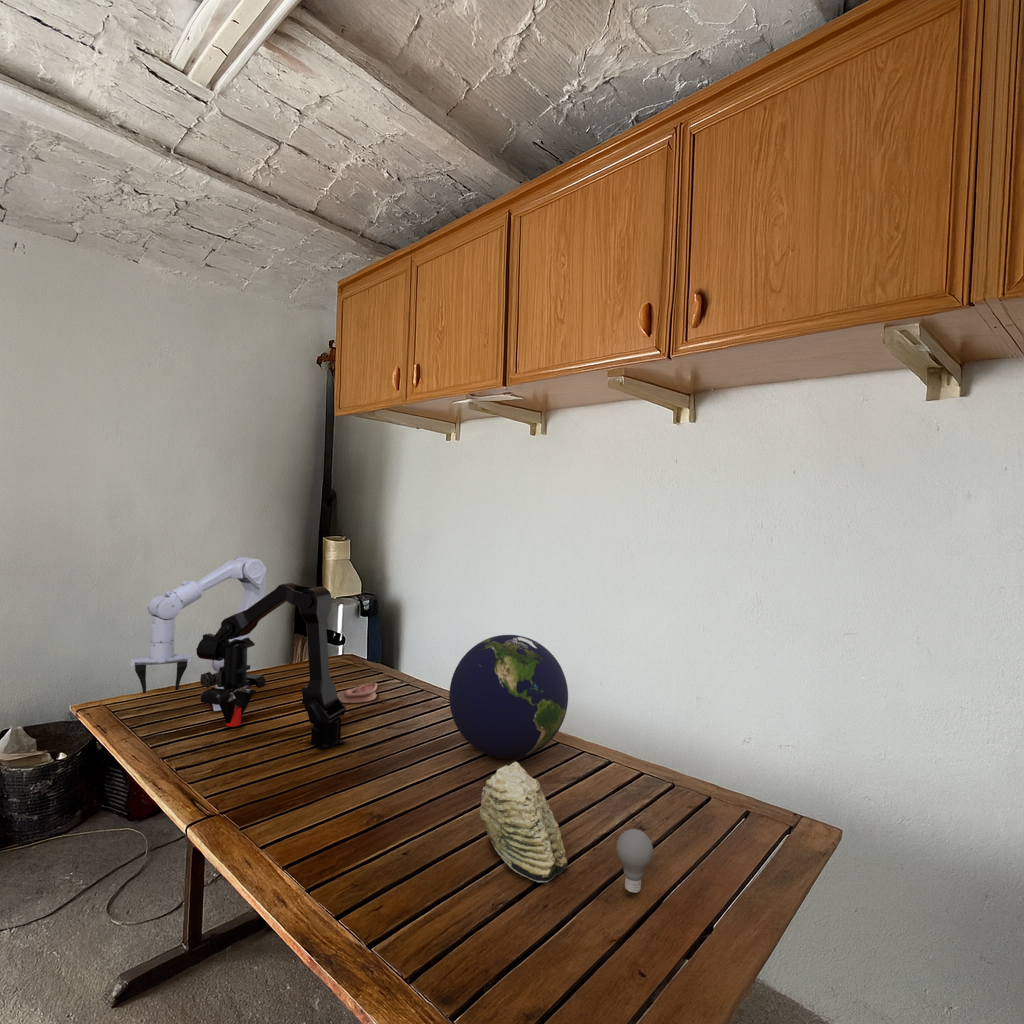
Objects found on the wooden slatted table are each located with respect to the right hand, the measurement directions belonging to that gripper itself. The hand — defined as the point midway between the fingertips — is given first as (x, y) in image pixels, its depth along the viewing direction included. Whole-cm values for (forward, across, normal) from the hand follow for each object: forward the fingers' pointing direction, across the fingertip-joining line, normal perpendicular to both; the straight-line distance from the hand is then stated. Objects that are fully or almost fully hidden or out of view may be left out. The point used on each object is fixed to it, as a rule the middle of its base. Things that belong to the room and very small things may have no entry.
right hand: (233, 720), depth 170 cm
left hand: (-7, +4, -21) cm, 22 cm away
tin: (+1, 0, 0) cm, 1 cm away
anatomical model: (+2, -35, +16) cm, 39 cm away
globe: (+2, -10, +73) cm, 74 cm away
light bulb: (+3, +37, +109) cm, 115 cm away
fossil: (+2, +33, +88) cm, 94 cm away
